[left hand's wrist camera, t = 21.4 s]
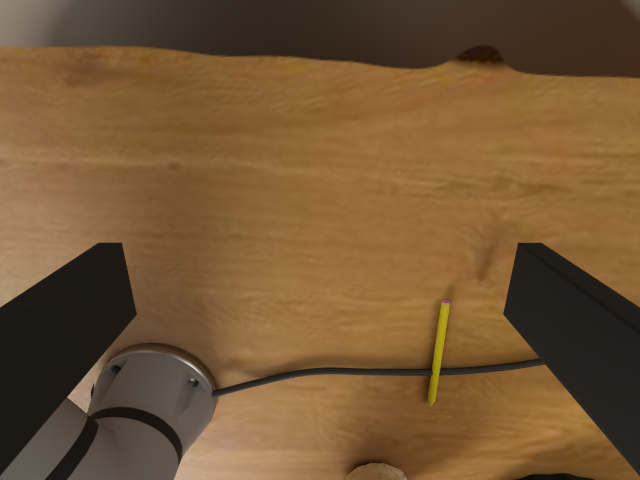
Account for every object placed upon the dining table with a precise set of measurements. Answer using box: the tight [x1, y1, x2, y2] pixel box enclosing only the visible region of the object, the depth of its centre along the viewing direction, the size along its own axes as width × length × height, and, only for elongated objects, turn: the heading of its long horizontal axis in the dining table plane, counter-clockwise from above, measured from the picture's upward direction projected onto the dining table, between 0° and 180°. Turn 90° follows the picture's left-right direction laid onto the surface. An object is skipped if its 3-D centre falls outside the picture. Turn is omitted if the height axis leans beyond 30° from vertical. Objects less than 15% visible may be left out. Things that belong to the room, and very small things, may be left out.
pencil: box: [428, 299, 450, 407], centre depth 47 cm, size 16×1×1 cm, turn 0°
